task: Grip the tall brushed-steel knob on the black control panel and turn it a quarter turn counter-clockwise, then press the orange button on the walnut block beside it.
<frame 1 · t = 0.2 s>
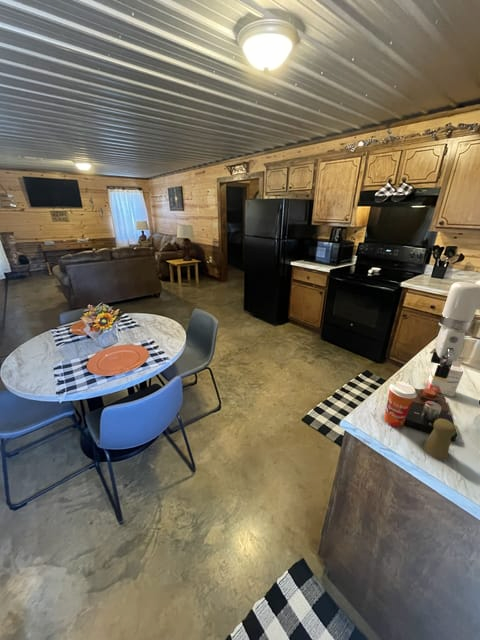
hand: (438, 369, 87), 19 cm above the counter, tool pointing down, fingers open, 9 cm apart
ink cartridge box: (439, 390, 107), on the counter
button block: (425, 402, 100), on the counter
cork: (434, 451, 79), on the counter
knob: (431, 410, 87), point 6 cm above the counter, hinge at 0.0°
button: (429, 393, 98), point 4 cm above the counter, slide at 0.1 cm
panel: (426, 424, 90), on the counter
paper cup: (393, 421, 91), on the counter
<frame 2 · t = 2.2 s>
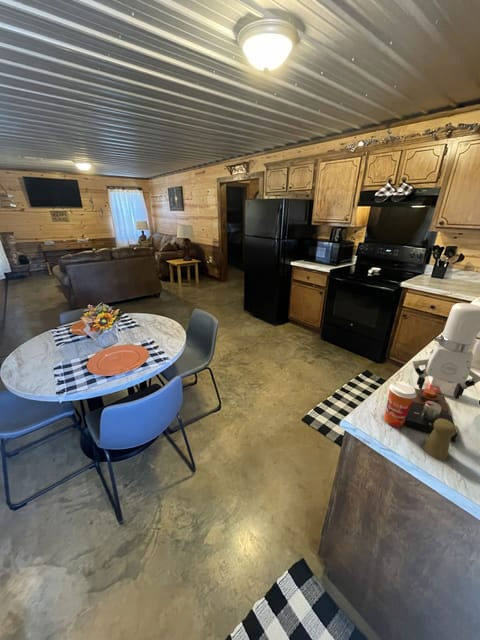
hand: (437, 391, 85), 13 cm above the counter, tool pointing down, fingers open, 9 cm apart
nothing on the counter moved.
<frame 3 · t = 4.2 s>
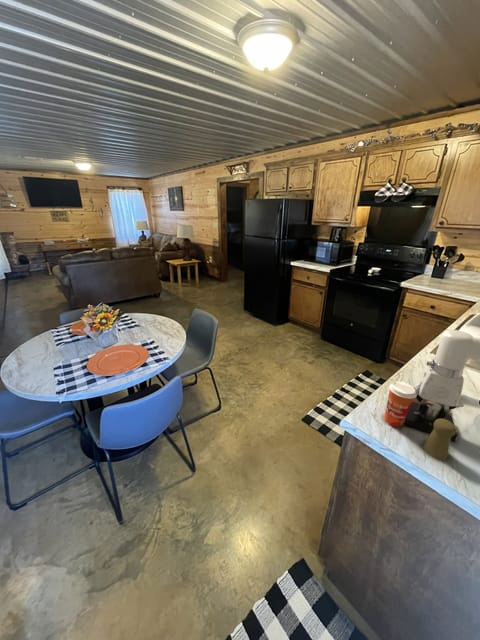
hand: (429, 414, 88), 4 cm above the counter, tool pointing down, fingers closed on knob, 4 cm apart
knob: (431, 410, 87), point 6 cm above the counter, hinge at -0.1°, touching gripper
everything else where it was.
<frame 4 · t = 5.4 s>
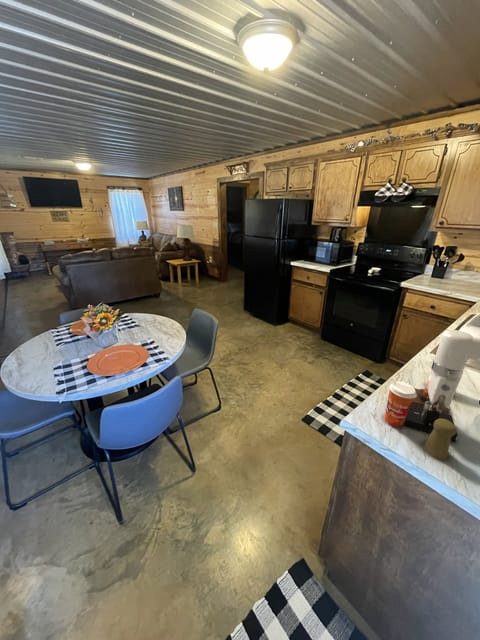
hand: (429, 414, 88), 4 cm above the counter, tool pointing down, fingers closed on knob, 4 cm apart
knob: (431, 410, 87), point 6 cm above the counter, hinge at 90.4°, touching gripper
everything else where it was.
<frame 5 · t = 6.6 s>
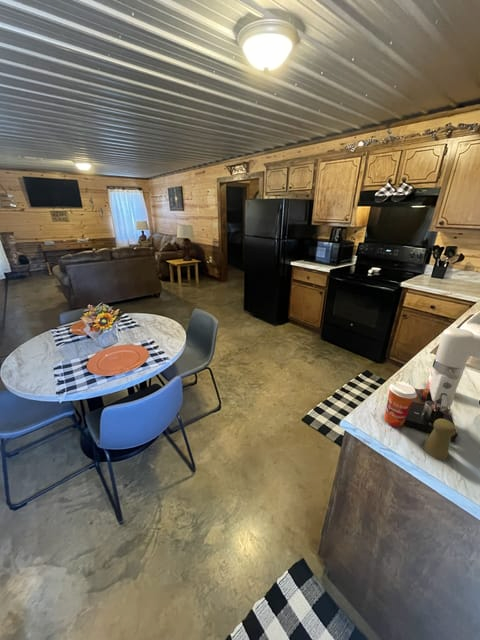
hand: (432, 411, 87), 6 cm above the counter, tool pointing down, fingers open, 9 cm apart
knob: (431, 410, 87), point 6 cm above the counter, hinge at 91.8°
everything else where it was.
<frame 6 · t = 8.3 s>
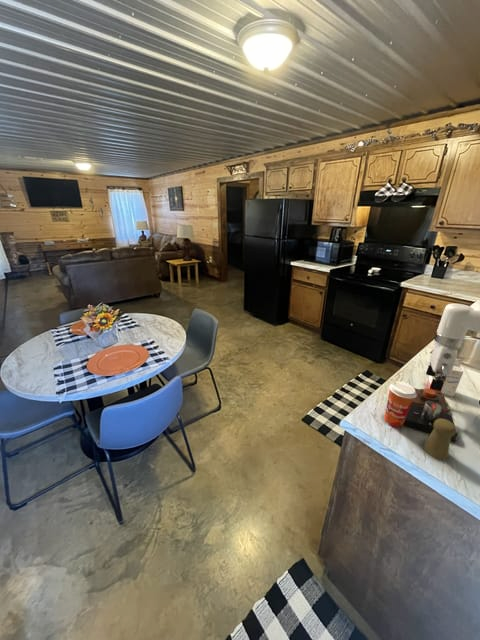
hand: (432, 382, 95), 10 cm above the counter, tool pointing down, fingers open, 9 cm apart
nothing on the counter moved.
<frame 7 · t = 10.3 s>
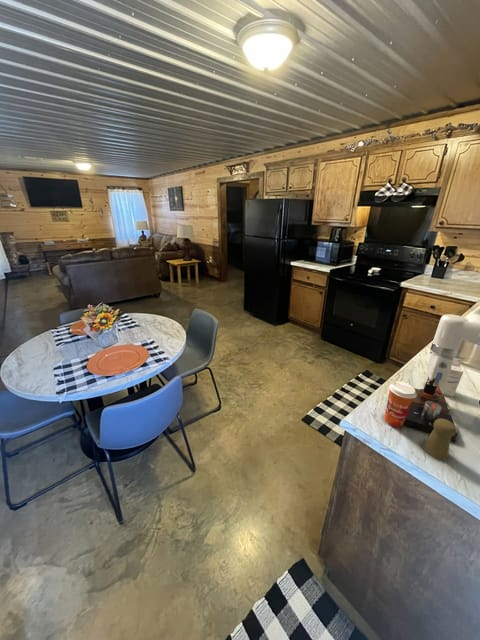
hand: (428, 392, 98), 5 cm above the counter, tool pointing down, fingers closed
button: (428, 394, 98), point 4 cm above the counter, slide at -0.6 cm, touching gripper
everything else where it was.
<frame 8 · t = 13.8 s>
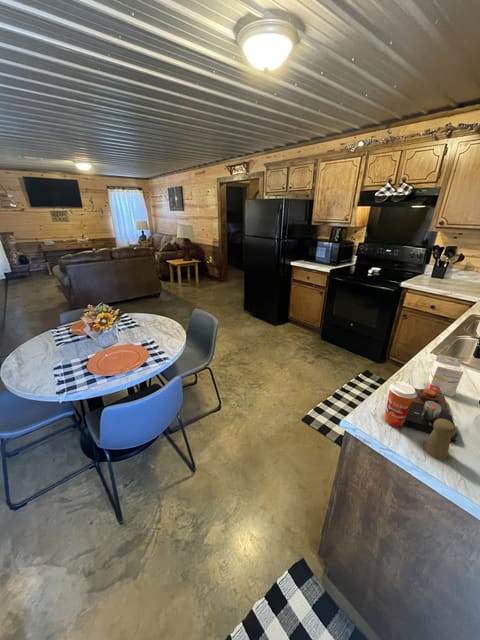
hand: (479, 357, 88), 22 cm above the counter, tool pointing down, fingers closed
button: (429, 393, 98), point 4 cm above the counter, slide at 0.1 cm
everything else where it was.
at the end: knob at +92° (first picture: +0°); button pushed in 1.1 cm at the most during the clip, back to where it started at the end; button slide at 0.1 cm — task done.
